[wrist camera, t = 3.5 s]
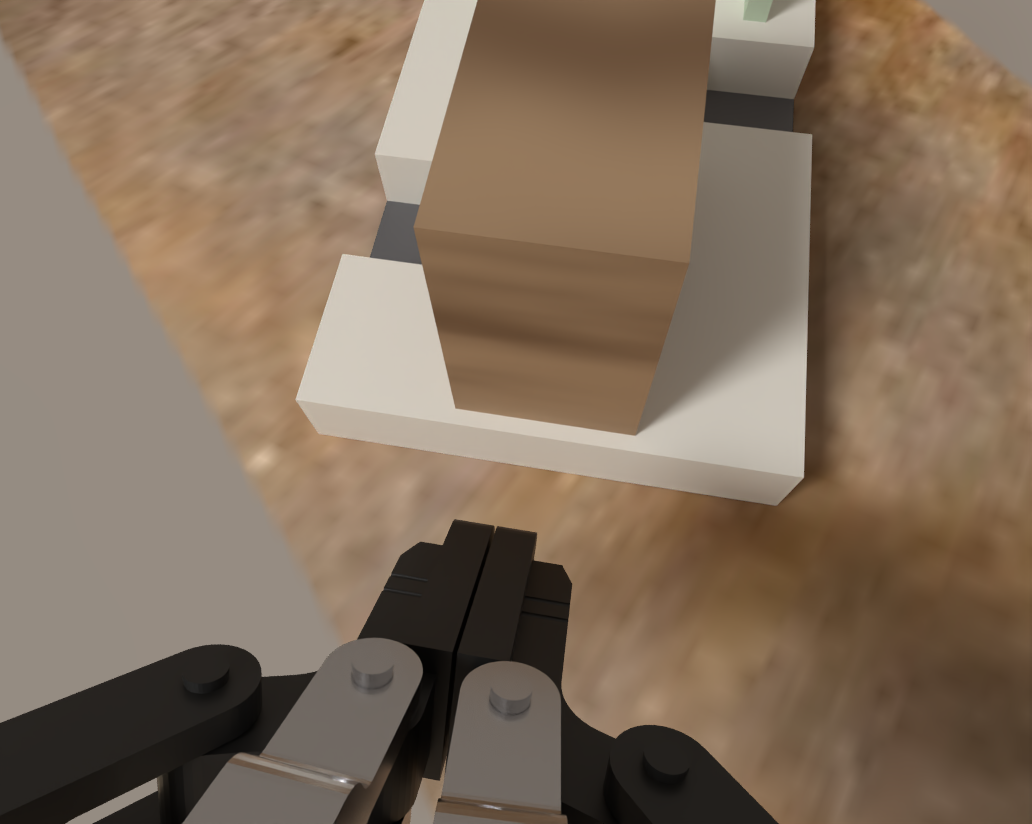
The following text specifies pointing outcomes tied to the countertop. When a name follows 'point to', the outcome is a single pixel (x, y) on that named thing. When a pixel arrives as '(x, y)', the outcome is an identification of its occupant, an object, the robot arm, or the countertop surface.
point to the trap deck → (699, 310)
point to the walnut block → (565, 204)
